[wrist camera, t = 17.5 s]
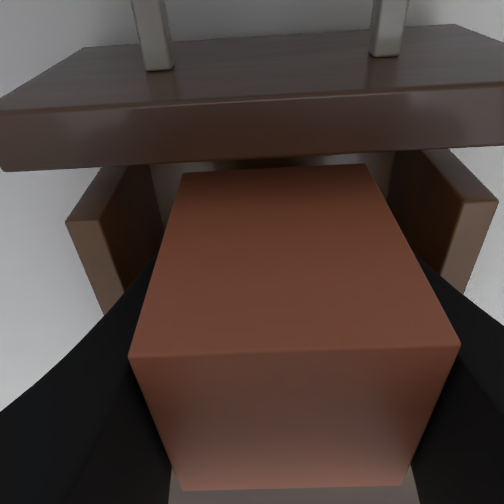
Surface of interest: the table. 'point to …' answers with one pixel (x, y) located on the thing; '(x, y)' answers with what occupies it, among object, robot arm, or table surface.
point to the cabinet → (301, 494)
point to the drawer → (265, 128)
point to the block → (289, 333)
